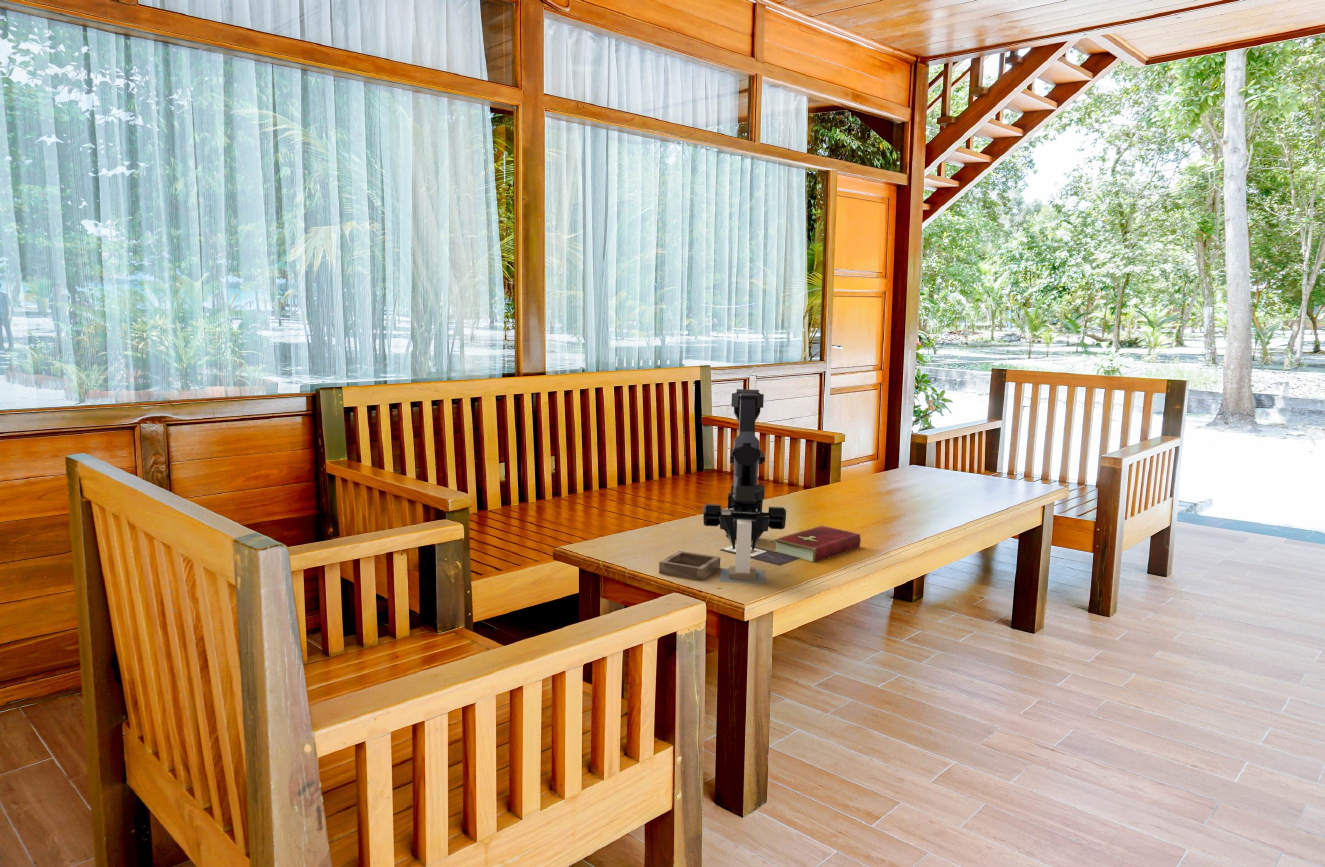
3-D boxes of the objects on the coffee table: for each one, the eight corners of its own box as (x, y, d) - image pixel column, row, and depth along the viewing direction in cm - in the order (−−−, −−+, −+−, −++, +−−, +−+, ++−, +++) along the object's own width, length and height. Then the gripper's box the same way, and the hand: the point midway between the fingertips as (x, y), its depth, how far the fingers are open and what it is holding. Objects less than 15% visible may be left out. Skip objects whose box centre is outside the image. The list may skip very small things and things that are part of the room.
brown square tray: (678, 562, 210) (679, 550, 210) (720, 568, 206) (720, 557, 205) (659, 573, 201) (659, 561, 200) (701, 581, 196) (702, 569, 196)
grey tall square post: (729, 570, 203) (731, 517, 201) (755, 572, 203) (757, 519, 201) (728, 578, 197) (730, 524, 196) (755, 580, 197) (758, 525, 195)
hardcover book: (860, 548, 227) (861, 532, 226) (814, 565, 212) (814, 548, 211) (820, 539, 235) (821, 524, 234) (773, 554, 220) (774, 538, 219)
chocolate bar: (779, 565, 208) (719, 549, 220) (779, 569, 209) (719, 553, 220) (800, 557, 215) (741, 542, 227) (800, 561, 215) (741, 546, 227)
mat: (720, 569, 205) (720, 567, 205) (764, 571, 205) (764, 569, 205) (719, 582, 196) (719, 581, 196) (765, 584, 195) (765, 583, 195)
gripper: (704, 469, 201) (701, 528, 192) (787, 472, 200) (787, 532, 190) (705, 495, 210) (701, 553, 201) (784, 499, 209) (784, 557, 199)
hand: (743, 548), depth 198 cm, fingers open, 4 cm apart
